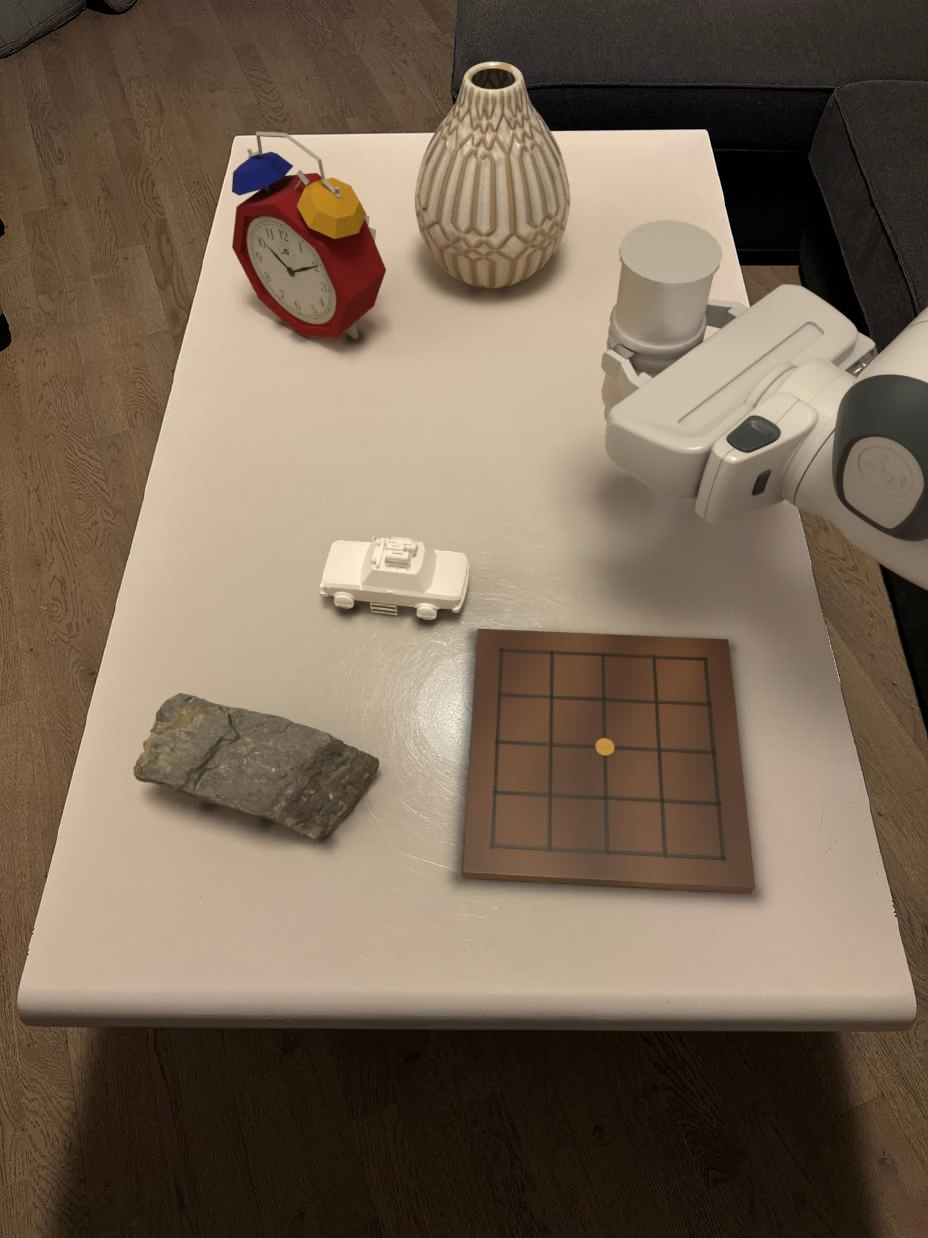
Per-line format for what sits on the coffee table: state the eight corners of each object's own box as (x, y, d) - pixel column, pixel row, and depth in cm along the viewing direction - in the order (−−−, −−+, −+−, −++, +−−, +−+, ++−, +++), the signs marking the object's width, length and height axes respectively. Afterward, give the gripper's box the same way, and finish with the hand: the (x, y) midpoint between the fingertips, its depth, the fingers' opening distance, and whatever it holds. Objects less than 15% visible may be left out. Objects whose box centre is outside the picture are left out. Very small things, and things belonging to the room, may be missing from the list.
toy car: (335, 556, 81) (324, 505, 76) (472, 571, 80) (472, 521, 75) (319, 613, 78) (306, 564, 73) (462, 630, 77) (460, 582, 71)
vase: (543, 324, 97) (555, 135, 81) (398, 295, 100) (381, 107, 83) (580, 233, 106) (598, 44, 89) (445, 209, 108) (438, 22, 92)
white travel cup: (702, 408, 75) (743, 244, 63) (653, 459, 73) (686, 297, 60) (630, 372, 78) (656, 206, 65) (581, 419, 75) (598, 256, 63)
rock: (114, 836, 63) (129, 691, 66) (152, 844, 70) (163, 711, 73) (368, 833, 62) (371, 686, 65) (382, 841, 69) (384, 707, 72)
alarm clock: (246, 309, 99) (198, 122, 83) (300, 266, 103) (265, 79, 86) (354, 365, 94) (327, 178, 78) (407, 318, 98) (391, 130, 81)
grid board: (725, 646, 76) (728, 638, 75) (751, 893, 65) (755, 888, 64) (477, 636, 77) (477, 627, 76) (462, 878, 66) (462, 872, 65)
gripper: (908, 318, 64) (745, 229, 70) (714, 474, 57) (551, 361, 63) (876, 387, 69) (727, 299, 75) (695, 539, 62) (546, 428, 68)
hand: (646, 328), depth 69 cm, fingers closed on white travel cup, 7 cm apart
